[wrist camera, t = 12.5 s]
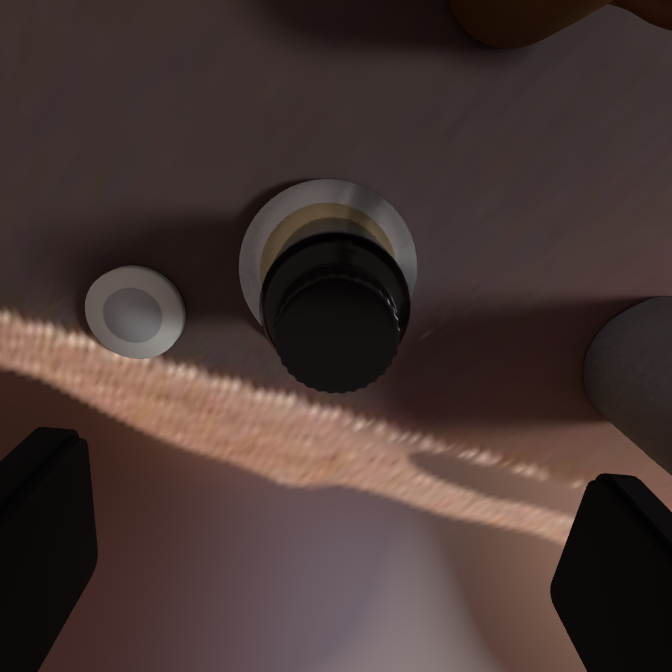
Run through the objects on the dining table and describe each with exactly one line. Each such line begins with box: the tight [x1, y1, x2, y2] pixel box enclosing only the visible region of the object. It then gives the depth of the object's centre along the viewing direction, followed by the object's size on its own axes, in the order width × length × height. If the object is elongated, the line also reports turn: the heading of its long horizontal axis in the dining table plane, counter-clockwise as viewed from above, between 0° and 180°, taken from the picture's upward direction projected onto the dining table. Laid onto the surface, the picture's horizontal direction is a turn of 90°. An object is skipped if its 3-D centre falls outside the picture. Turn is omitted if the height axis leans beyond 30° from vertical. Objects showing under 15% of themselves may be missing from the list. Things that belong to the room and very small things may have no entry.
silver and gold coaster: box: [239, 179, 417, 326], centre depth 29 cm, size 11×11×1 cm
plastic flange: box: [85, 265, 186, 359], centre depth 30 cm, size 6×6×1 cm
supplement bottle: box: [259, 217, 411, 394], centre depth 23 cm, size 7×7×12 cm
